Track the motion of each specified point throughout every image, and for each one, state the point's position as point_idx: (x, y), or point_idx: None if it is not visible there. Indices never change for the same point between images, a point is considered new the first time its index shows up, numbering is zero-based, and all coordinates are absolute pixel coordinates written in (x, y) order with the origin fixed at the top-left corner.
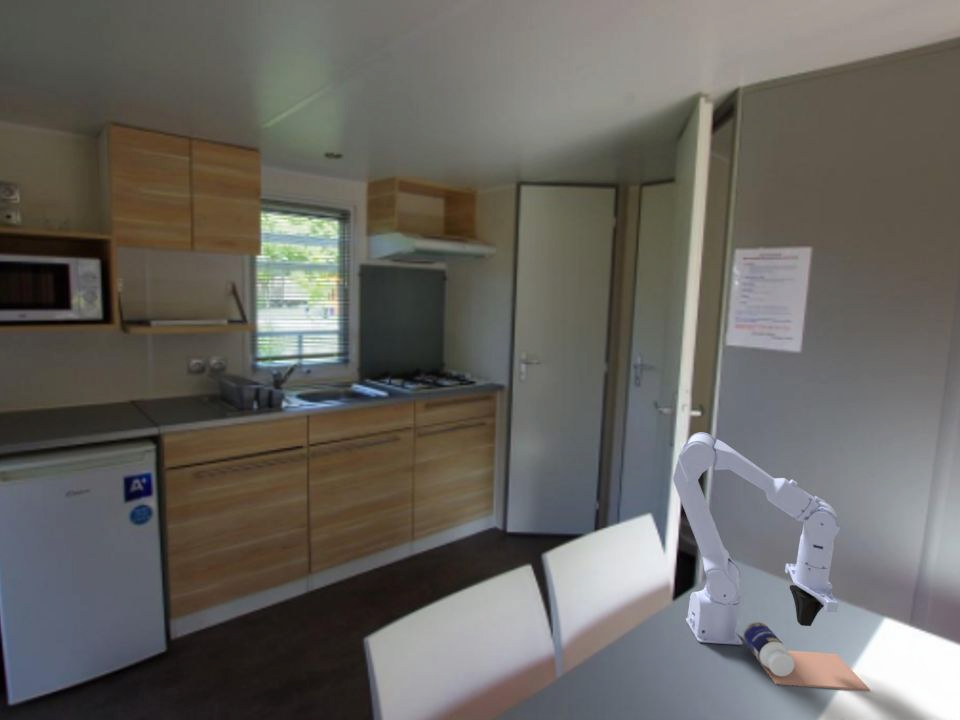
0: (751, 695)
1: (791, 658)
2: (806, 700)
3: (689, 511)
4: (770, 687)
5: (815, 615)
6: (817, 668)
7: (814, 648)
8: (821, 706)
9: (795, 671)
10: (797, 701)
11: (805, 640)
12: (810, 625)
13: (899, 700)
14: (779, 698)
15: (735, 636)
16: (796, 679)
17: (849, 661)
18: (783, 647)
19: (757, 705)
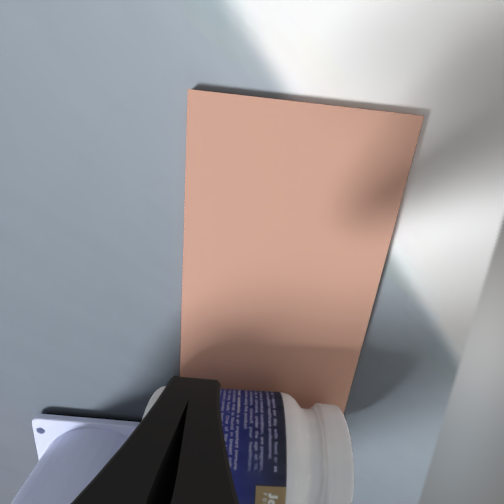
0: (367, 493)
1: (353, 465)
2: (410, 381)
3: None
4: None
5: (230, 472)
6: (285, 258)
7: (144, 165)
8: (441, 355)
9: (297, 347)
10: (408, 406)
11: (89, 168)
12: (219, 387)
13: (498, 4)
14: (389, 441)
15: (124, 433)
16: (334, 367)
17: (228, 45)
18: (304, 480)
19: (400, 496)
